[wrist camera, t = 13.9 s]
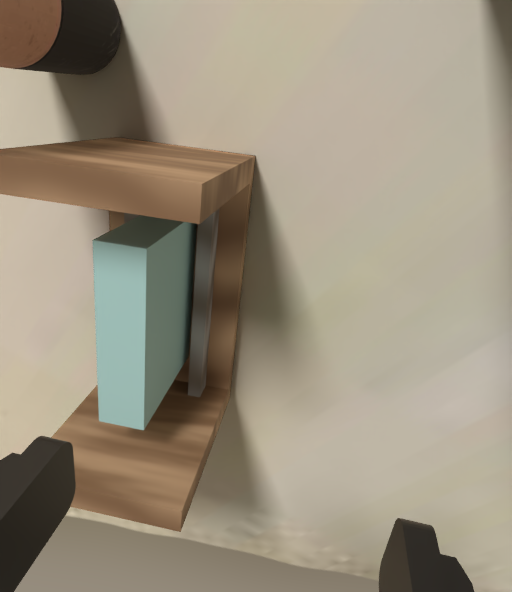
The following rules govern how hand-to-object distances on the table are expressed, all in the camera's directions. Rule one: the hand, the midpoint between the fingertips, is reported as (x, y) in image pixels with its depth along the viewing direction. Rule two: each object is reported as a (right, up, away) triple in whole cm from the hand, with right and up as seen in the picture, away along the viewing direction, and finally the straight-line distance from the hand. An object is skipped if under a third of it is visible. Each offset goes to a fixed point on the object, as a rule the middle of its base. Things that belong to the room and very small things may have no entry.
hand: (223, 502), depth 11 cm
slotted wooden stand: (-6, +6, +31) cm, 32 cm away
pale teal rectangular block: (-7, +6, +29) cm, 31 cm away
